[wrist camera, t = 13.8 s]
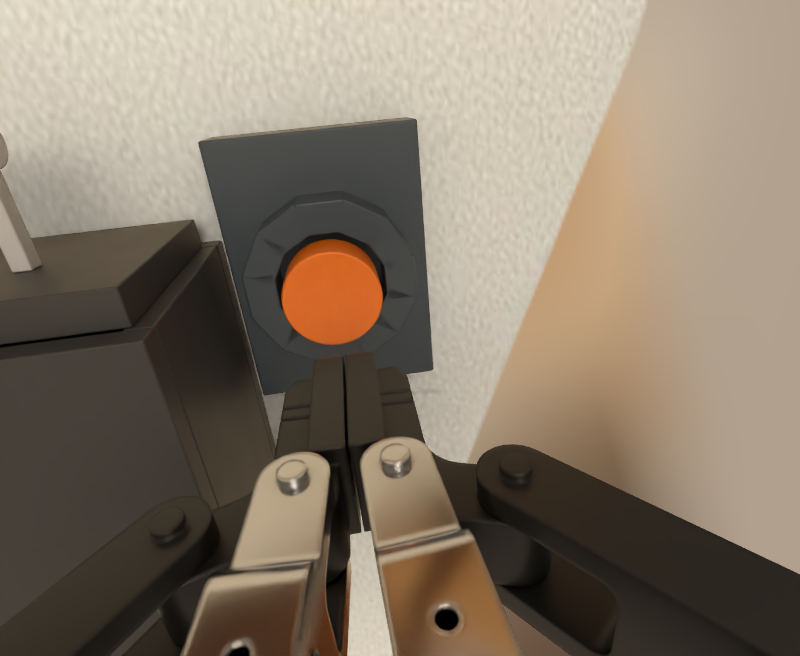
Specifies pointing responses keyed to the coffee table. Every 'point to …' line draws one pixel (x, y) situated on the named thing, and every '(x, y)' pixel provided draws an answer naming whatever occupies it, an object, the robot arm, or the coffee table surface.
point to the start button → (331, 292)
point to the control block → (324, 234)
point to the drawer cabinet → (125, 429)
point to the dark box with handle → (82, 275)
